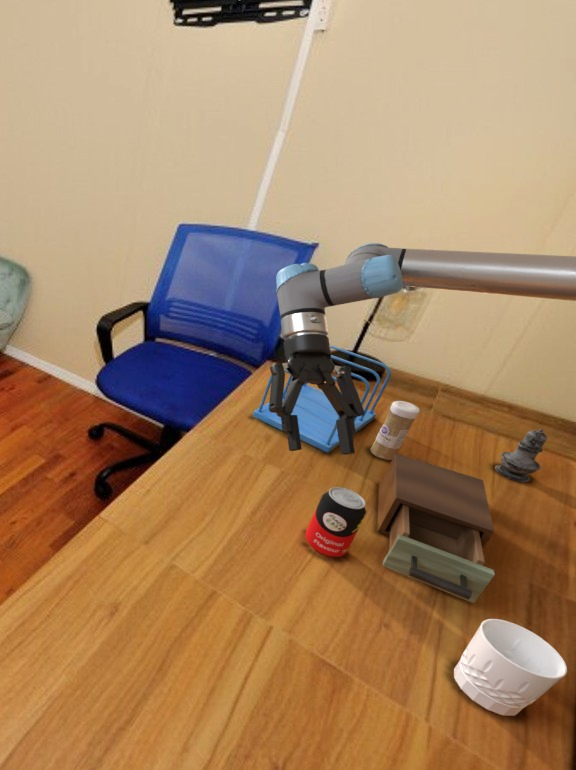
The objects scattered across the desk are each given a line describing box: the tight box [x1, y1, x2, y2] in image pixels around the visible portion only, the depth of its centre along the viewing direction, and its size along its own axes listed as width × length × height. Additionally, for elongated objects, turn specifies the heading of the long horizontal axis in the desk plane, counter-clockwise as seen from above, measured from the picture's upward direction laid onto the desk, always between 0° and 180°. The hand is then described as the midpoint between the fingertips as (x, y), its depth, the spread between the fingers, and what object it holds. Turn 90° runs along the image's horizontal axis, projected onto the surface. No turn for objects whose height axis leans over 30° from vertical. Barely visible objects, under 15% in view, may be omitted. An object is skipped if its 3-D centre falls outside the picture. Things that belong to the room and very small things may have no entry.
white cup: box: [453, 618, 568, 717], centre depth 68 cm, size 8×8×10 cm
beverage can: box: [304, 486, 367, 558], centre depth 90 cm, size 6×6×12 cm
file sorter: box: [252, 344, 392, 454], centre depth 124 cm, size 25×17×15 cm
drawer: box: [382, 503, 496, 604], centre depth 86 cm, size 19×12×7 cm, turn 141°
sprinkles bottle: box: [369, 400, 421, 461], centre depth 112 cm, size 5×5×14 cm
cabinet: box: [376, 452, 495, 550], centre depth 95 cm, size 16×13×9 cm
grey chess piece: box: [494, 428, 548, 483], centre depth 106 cm, size 6×6×12 cm
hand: (321, 451), depth 95 cm, fingers open, 8 cm apart
